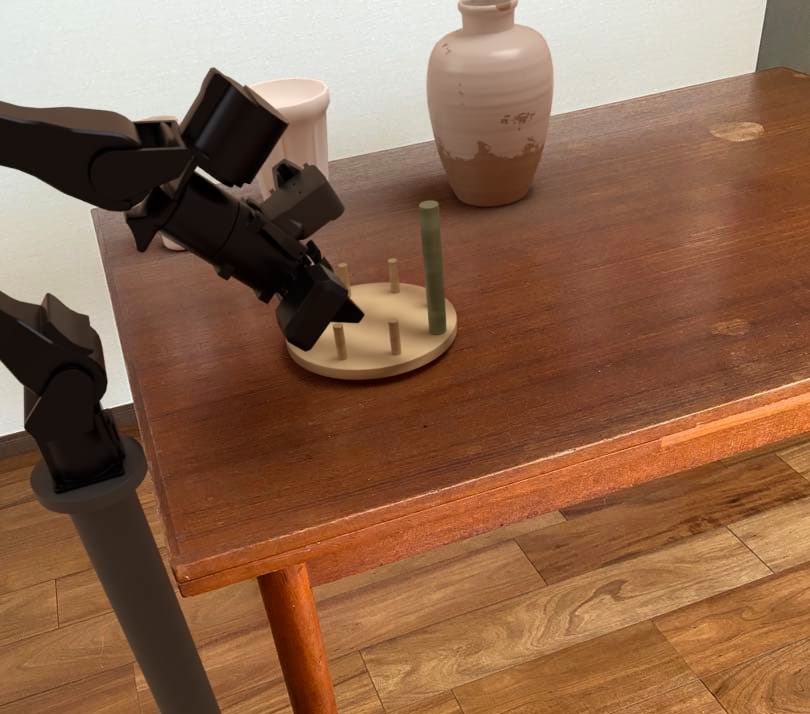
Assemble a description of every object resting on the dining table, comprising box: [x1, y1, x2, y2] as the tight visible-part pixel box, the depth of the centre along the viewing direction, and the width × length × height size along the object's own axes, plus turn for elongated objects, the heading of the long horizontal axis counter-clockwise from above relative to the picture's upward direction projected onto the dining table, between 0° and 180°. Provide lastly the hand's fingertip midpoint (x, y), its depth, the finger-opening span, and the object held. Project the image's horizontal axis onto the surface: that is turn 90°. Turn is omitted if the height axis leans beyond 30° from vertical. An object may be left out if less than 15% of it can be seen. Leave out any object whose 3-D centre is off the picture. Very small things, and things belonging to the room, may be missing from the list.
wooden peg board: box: [284, 200, 458, 381], centre depth 88 cm, size 18×18×14 cm
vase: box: [425, 0, 555, 207], centre depth 112 cm, size 16×16×23 cm
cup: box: [247, 77, 331, 202], centre depth 115 cm, size 12×12×15 cm
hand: (360, 317), depth 83 cm, fingers closed
